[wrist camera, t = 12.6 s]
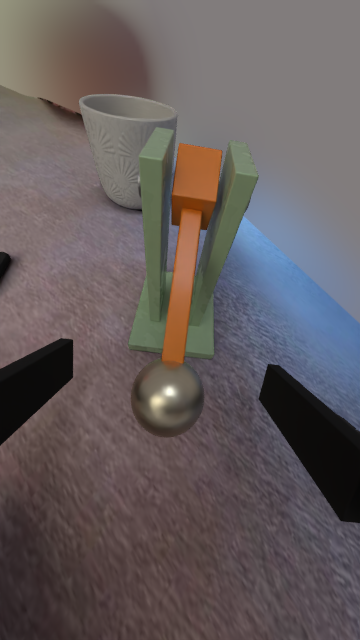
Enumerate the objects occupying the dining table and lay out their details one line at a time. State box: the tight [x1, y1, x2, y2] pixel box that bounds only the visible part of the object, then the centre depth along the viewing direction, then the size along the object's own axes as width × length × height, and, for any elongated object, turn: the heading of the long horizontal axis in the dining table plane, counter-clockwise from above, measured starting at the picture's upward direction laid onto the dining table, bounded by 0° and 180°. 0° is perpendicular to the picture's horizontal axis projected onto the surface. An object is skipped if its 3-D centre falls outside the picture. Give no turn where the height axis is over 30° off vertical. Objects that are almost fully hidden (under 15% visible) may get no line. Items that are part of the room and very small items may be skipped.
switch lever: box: [131, 143, 222, 437], centre depth 9 cm, size 14×4×4 cm, turn 175°
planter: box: [79, 94, 177, 209], centre depth 28 cm, size 12×12×11 cm
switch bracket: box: [128, 127, 259, 359], centre depth 14 cm, size 10×8×14 cm
